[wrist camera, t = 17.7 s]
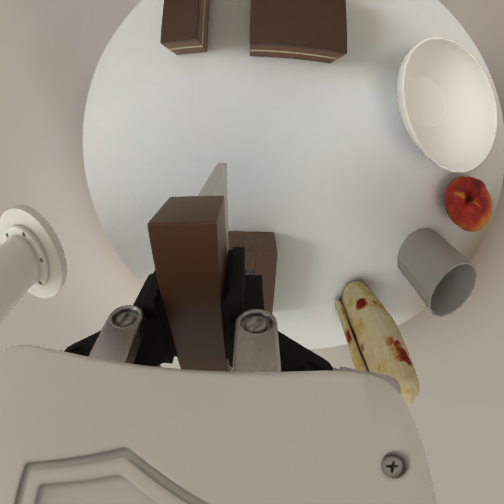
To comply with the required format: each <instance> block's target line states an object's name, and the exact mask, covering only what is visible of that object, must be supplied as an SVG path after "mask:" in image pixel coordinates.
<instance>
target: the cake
mask: <svg viewBox="0 0 504 504" xmlns="http://www.w3.org/2000/svg"><path fill="white" fill-rule="evenodd" d="M346 53H347V24H346V1H345V0H251V25H250V56H267V57H283V58H294V59H303V60H312V61H319V62H326V63H331V62H333V61H334V60H336V59H338V58H340V57H341V56H343V55H345V54H346Z"/></svg>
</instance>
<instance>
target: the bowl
mask: <svg viewBox="0 0 504 504" xmlns="http://www.w3.org/2000/svg"><path fill="white" fill-rule="evenodd" d="M396 89H397V99H398V106H399V110H400V113H401V117H402V121H403V123H404V125H405V127H406V129H407V131H408V133H409V135H410V138H411V139H412V140H413V141H414V143H415V144H416V145H417V147H418V148H419V149H420V151H421V152H422V153H423V154H424V155H425V156H426V157H427V158H429V159H430V160H431V161H432V162H433V163H435V164H436V165H438V166H439V167H441V168H444V169H446V170H448V171H450V172H463V173H464V172H467V171H470V170H472V169H475V168H476V167H477V166H478V165H480V164H481V163H482V162H483V161H484V160H485V158H486V157H487V156H488V154H489V152H490V151H491V148H492V146H493V143H494V140H495V137H496V131H497V124H498V121H497V105H496V101H495V96H494V92H493V89H492V86H491V84H490V81H489V79H488V77H487V75H486V73H485V72H484V70H483V68H482V67H481V65H480V64H479V62H478V61H477V60H476V59H475V58H474V57H473V56H472V55H471V53H470V52H469V51H467V50H466V49H465V48H463V47H462V46H460V45H459V44H458V43H456V42H453V41H451V40H448V39H445V38H429V39H426V40H424V41H421V42H419V43H417V44H415V45H414V46H413V47H412V48H411V50H410V51H409V52H408V53H407V54H406V55H405V57H404V59H403V61H402V64H401V66H400V68H399V71H398V78H397V85H396Z"/></svg>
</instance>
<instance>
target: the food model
mask: <svg viewBox="0 0 504 504" xmlns="http://www.w3.org/2000/svg"><path fill="white" fill-rule="evenodd" d="M335 305H336V309H337V313H338V316H339V318H340V321H341V324H342V327H343V330H344V333H345V336H346V340H347V343H348V346H349V349H350V353H351V357H352V360H353V363H354V366H355V368H356V370H361V371H366V372H371V373H377V374H383V375H388V376H390V377H393V378H394V379H395V380H397V382H398V383H399V385H400V389H401V396H402V398H403V399H404V401H405V403H406V405H407V407H408V406H410V405H411V403H412V402H413V400H414V399H415V398H416V397H417V395H418V392H419V381H418V378H417V374H416V372H415V368H414V366H413V363H412V361H411V358H410V355H409V353H408V350H407V348H406V345H405V343H404V341H403V338H402V336H401V334H400V331H399V330H398V327H397V325H396V323H395V322H394V320H393V318H392V317H391V316H390V314H389V313H388V312H387V311H386V309H385V308H384V307H383V305H382V304H381V303H380V302H379V300H378V299H377V298H376V297H375V295H374V294H373V293H372V291H371V290H370V289H369V288H368V287H367V286H366V285H365V284H364V283H363V282H362V281H354V282H350V283H349V284H348V285H347V286H346V288H345V290H344V292H343V296H342V303H341V301H339V300H337V301H336V304H335Z"/></svg>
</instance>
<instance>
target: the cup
mask: <svg viewBox="0 0 504 504" xmlns="http://www.w3.org/2000/svg"><path fill="white" fill-rule="evenodd" d="M398 267H399V268H400V270H401V271H402V273H403V274H404V275H405V277H406V278H407V279H408V281H409V282H410V283H411V285H412V286H413V287H414V289H415V290H416V291H417V293H418V294H419V295H420V297H421V298H422V300H423V301H424V302H425V304H426V305H427V307H428V308H429V309H430V311H431V312H432V314H433V315H436V316H440V317H441V316H445V315H448V314H451V313H452V312H453V311H455V310H457V309H458V308H459V307H461V306H462V304H463V303H464V302H465V301H466V300H467V299H468V297H469V296H470V294H471V292H472V290H473V288H474V286H475V281H476V271H475V268H474V266H473V265H472V264H471V263H470V262H469V261H468V260H467V259H466V258H465V257H464V256H463V255H461V254H460V253H459V252H458V251H457V250H456V249H455V248H454V247H453V246H451V245H450V244H449V243H448V242H447V241H446V240H445V239H443V238H442V237H441V236H440V235H439V234H438V233H436V232H435V231H433V230H431V229H429V228H427V229H419V230H417V231H416V232H414V233H412V234H411V235H409V237H408V238H407V239H406V240H405V242H404V243H403V244H402V246H401V249H400V251H399V254H398Z"/></svg>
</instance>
